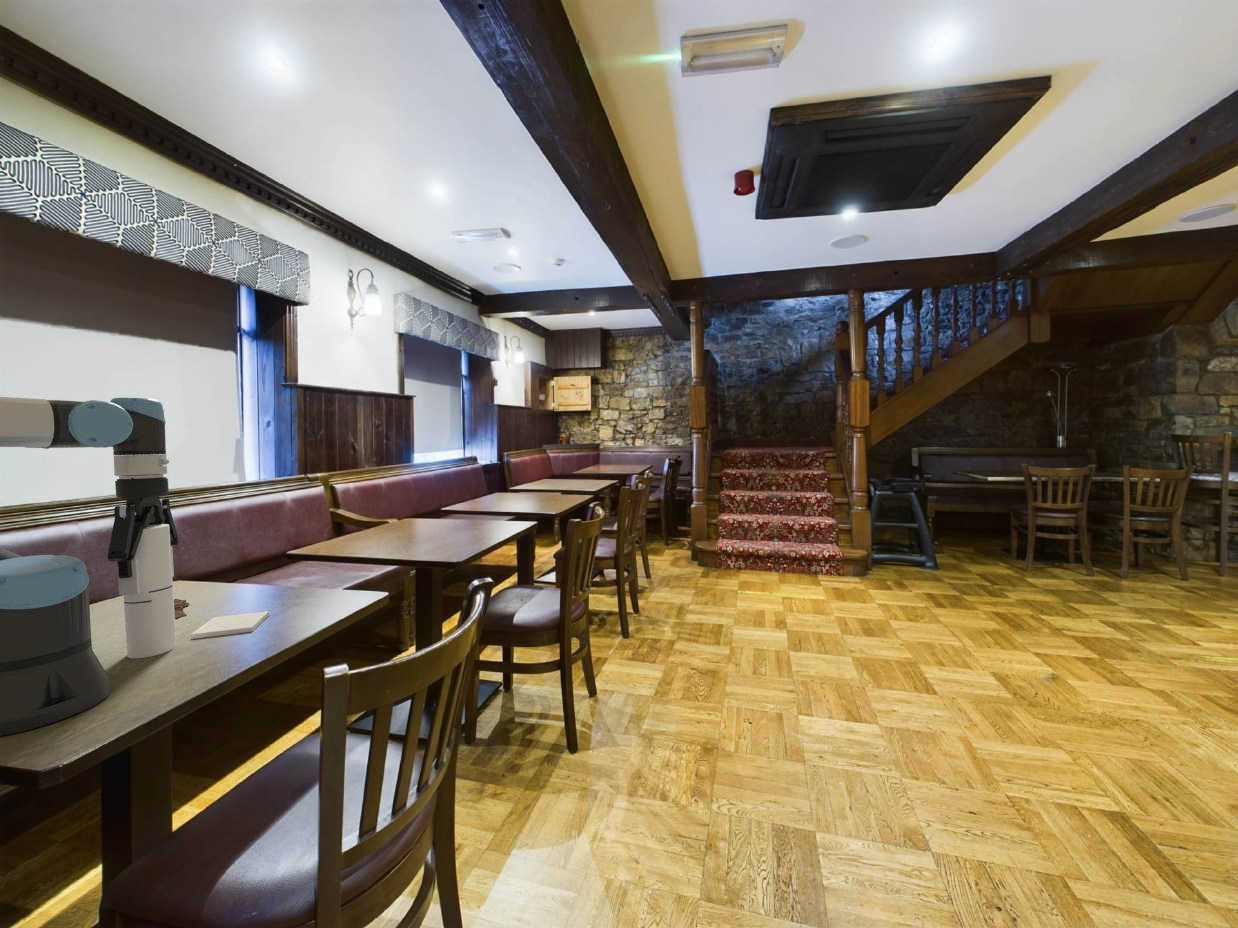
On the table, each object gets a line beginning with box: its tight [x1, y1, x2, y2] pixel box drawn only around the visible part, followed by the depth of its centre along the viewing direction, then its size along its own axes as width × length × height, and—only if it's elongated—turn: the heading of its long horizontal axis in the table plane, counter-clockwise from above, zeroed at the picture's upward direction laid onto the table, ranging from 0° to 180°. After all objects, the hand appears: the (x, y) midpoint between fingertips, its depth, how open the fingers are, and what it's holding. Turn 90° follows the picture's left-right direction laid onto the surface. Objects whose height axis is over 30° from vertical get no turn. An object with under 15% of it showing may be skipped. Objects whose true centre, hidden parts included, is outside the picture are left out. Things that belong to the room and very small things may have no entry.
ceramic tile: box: [190, 610, 270, 640], centre depth 112 cm, size 11×11×1 cm
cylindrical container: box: [123, 524, 177, 659], centre depth 98 cm, size 7×7×25 cm
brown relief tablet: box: [174, 598, 190, 620], centre depth 123 cm, size 26×11×1 cm, turn 38°
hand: (148, 585), depth 98 cm, fingers open, 12 cm apart
